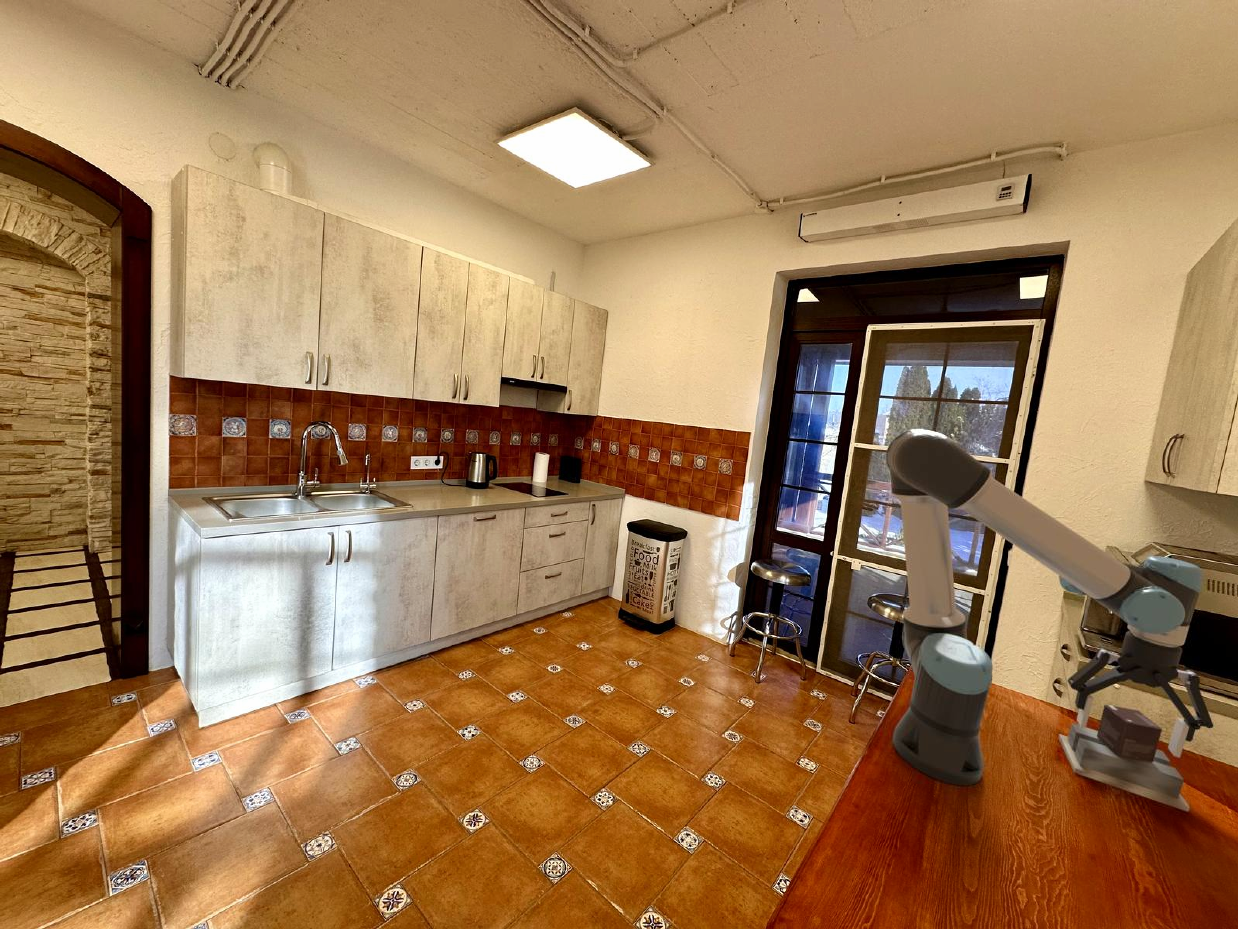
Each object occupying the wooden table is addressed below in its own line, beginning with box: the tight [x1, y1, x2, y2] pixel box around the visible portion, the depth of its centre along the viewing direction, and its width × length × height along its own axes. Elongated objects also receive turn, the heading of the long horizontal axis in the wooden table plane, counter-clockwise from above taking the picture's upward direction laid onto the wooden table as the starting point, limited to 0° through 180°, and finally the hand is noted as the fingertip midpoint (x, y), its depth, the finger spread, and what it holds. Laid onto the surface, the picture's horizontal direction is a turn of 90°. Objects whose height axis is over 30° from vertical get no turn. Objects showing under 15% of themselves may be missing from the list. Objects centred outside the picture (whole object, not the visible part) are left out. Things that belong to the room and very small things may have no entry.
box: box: [1097, 704, 1163, 762], centre depth 99 cm, size 6×6×7 cm
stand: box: [1058, 722, 1190, 813], centre depth 100 cm, size 16×12×5 cm
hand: (1125, 738), depth 99 cm, fingers open, 13 cm apart
